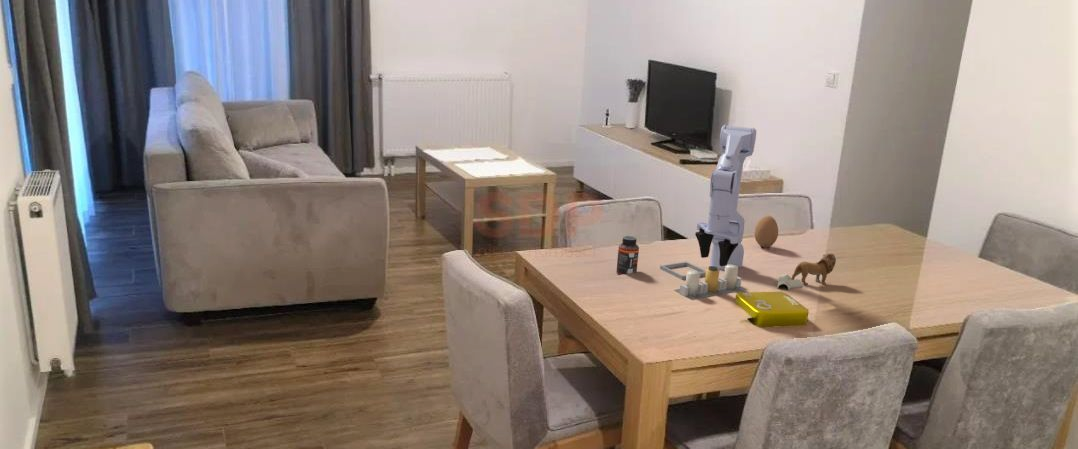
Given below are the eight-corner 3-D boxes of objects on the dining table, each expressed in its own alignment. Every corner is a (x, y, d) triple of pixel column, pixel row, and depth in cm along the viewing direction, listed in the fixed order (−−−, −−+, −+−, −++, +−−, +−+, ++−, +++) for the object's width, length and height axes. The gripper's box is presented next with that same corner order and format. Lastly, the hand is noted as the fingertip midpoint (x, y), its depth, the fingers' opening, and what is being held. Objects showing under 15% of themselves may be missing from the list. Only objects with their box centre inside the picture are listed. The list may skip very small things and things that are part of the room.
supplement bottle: (635, 279, 249) (638, 241, 246) (615, 276, 250) (618, 239, 247) (637, 272, 255) (640, 236, 251) (617, 270, 256) (620, 233, 253)
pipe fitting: (801, 290, 250) (777, 284, 251) (804, 277, 248) (780, 272, 250) (799, 299, 242) (775, 293, 244) (802, 286, 241) (778, 280, 243)
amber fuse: (711, 286, 242) (713, 264, 240) (719, 291, 239) (722, 268, 237) (701, 288, 240) (703, 266, 238) (709, 292, 237) (712, 270, 235)
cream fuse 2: (729, 283, 245) (732, 263, 243) (738, 287, 242) (740, 267, 240) (720, 285, 243) (722, 265, 242) (728, 289, 240) (731, 269, 239)
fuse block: (727, 285, 248) (728, 272, 247) (746, 294, 241) (748, 281, 240) (672, 295, 238) (673, 281, 237) (691, 305, 231) (692, 291, 230)
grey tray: (685, 269, 260) (686, 261, 259) (707, 279, 252) (708, 271, 251) (659, 273, 255) (660, 265, 254) (681, 284, 247) (682, 276, 246)
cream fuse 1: (691, 290, 238) (694, 269, 236) (700, 294, 235) (702, 273, 233) (681, 292, 236) (684, 271, 234) (690, 296, 233) (692, 275, 232)
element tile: (809, 327, 222) (812, 309, 221) (756, 328, 219) (758, 311, 217) (782, 305, 236) (784, 289, 235) (731, 306, 233) (733, 290, 232)
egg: (780, 247, 288) (784, 216, 285) (769, 252, 282) (773, 220, 279) (759, 242, 292) (763, 211, 289) (748, 246, 287) (752, 215, 284)
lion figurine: (825, 278, 259) (829, 250, 257) (836, 284, 255) (841, 255, 252) (784, 281, 254) (789, 253, 252) (796, 288, 249) (800, 258, 247)
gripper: (690, 208, 237) (685, 255, 241) (726, 222, 225) (720, 271, 229) (710, 206, 240) (704, 252, 244) (746, 219, 229) (740, 268, 232)
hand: (713, 261), depth 237 cm, fingers open, 7 cm apart
